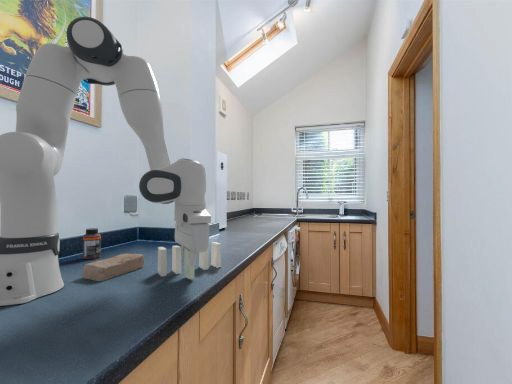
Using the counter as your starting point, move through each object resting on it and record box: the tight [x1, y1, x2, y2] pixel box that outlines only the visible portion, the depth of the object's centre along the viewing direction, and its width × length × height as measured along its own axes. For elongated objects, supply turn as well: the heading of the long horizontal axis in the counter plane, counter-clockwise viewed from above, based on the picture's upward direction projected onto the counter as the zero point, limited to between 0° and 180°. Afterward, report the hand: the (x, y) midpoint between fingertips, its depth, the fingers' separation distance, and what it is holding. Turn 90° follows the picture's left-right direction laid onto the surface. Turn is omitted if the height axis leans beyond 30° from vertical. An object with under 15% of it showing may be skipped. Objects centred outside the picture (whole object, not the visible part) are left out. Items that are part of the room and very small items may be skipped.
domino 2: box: [171, 245, 182, 275], centre depth 86 cm, size 2×5×8 cm, turn 32°
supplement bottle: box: [82, 227, 102, 260], centre depth 105 cm, size 6×6×11 cm
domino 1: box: [157, 246, 168, 277], centre depth 84 cm, size 2×5×8 cm, turn 32°
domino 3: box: [198, 245, 210, 271], centre depth 91 cm, size 2×5×8 cm, turn 32°
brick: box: [82, 253, 145, 282], centre depth 86 cm, size 16×8×5 cm, turn 159°
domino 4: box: [210, 241, 222, 269], centre depth 93 cm, size 2×5×8 cm, turn 32°
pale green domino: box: [183, 248, 196, 280], centre depth 79 cm, size 2×5×8 cm, turn 32°
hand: (189, 262), depth 79 cm, fingers closed on pale green domino, 5 cm apart
